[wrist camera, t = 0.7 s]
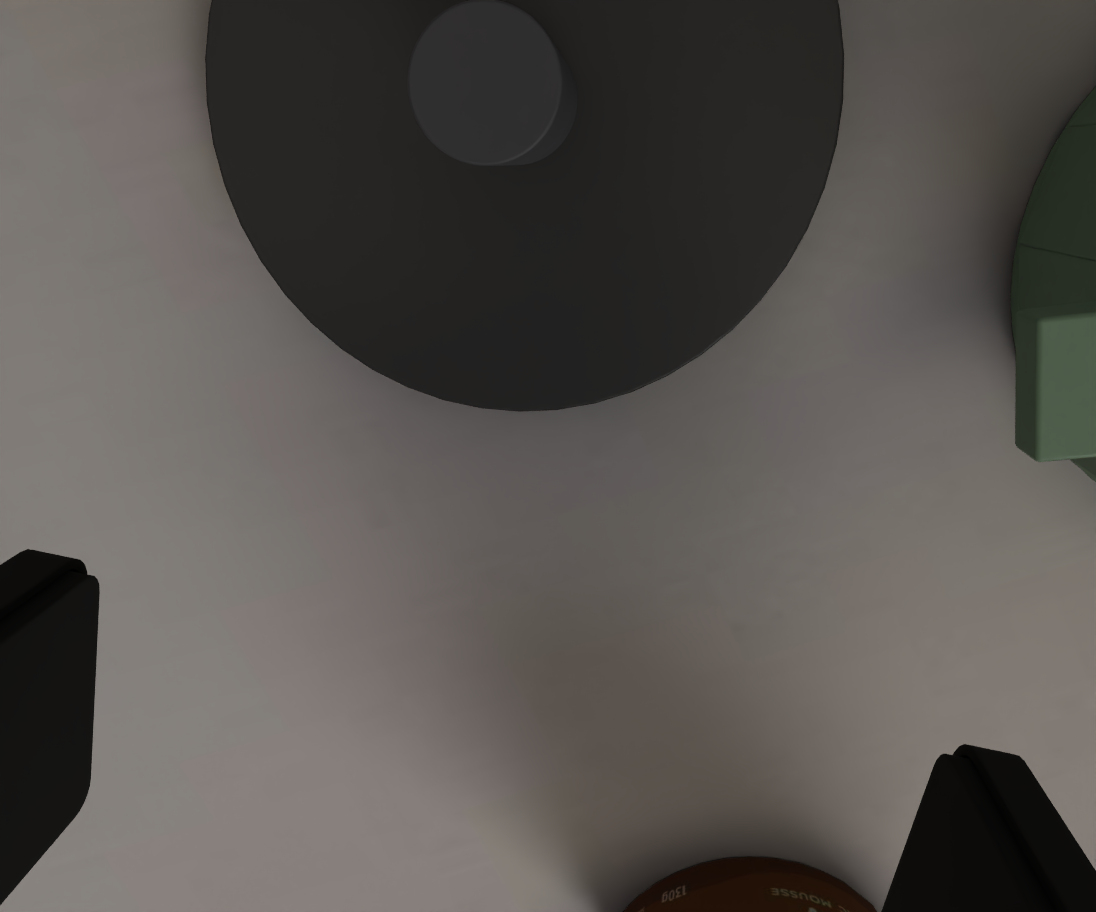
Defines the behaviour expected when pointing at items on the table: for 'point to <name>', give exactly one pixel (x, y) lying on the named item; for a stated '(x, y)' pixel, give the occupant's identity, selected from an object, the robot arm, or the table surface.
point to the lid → (525, 177)
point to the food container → (750, 889)
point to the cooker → (1059, 302)
